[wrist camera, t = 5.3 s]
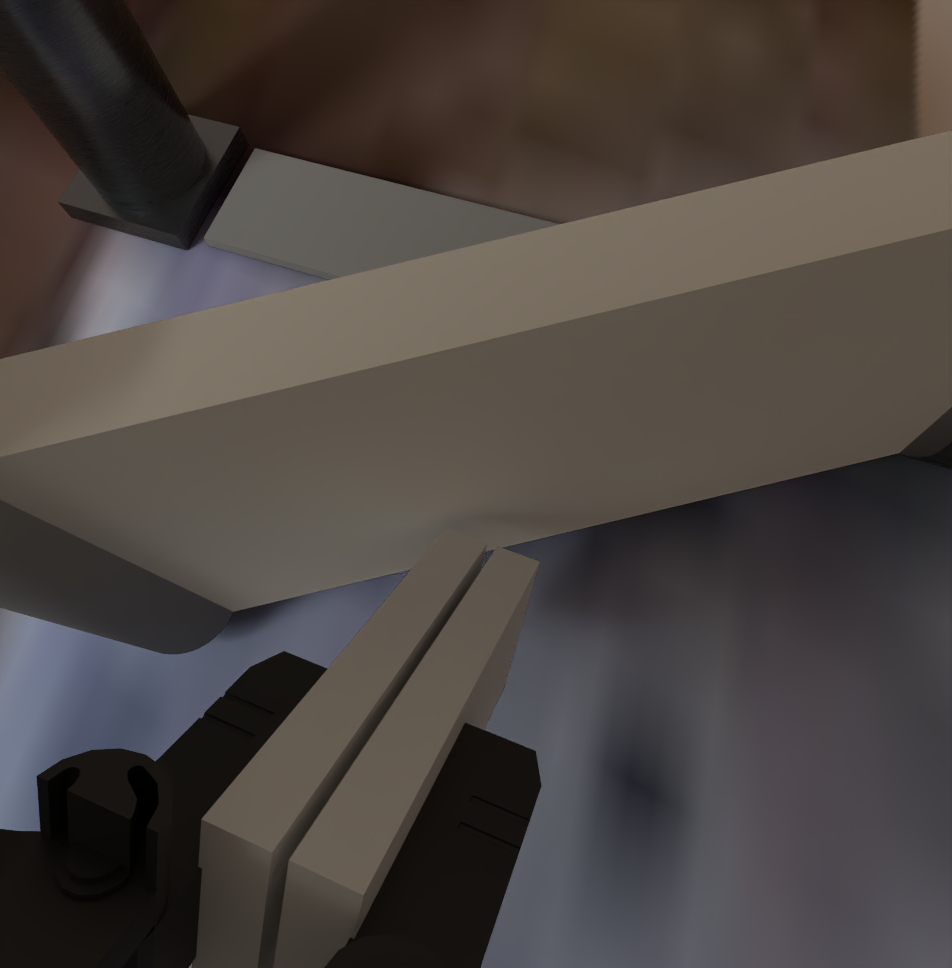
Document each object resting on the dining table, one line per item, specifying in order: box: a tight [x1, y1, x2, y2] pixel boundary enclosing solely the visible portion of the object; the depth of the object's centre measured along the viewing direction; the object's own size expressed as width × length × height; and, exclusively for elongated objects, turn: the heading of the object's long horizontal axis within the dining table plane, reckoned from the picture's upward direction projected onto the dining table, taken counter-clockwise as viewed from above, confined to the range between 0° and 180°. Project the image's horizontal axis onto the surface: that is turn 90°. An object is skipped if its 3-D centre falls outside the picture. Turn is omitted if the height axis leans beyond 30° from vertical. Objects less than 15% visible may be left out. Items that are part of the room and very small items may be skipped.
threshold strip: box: [204, 148, 560, 280], centre depth 18 cm, size 17×3×1 cm, turn 69°
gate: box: [0, 130, 952, 654], centre depth 11 cm, size 17×2×10 cm, turn 103°
